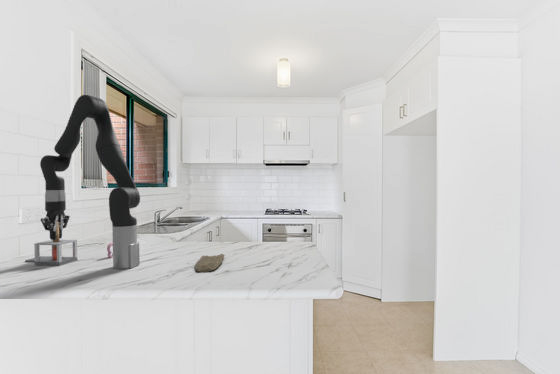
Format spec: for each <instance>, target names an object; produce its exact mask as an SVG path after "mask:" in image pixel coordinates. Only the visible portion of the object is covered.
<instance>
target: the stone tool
mask: <svg viewBox="0 0 560 374" xmlns="http://www.w3.org/2000/svg"><path fill="white" fill-rule="evenodd" d="M224 258H225V254H223V253H220V254H218V255H211V256H209V255H201V257H200V258H199V259H198V260H197V261H196V262H195V265H194V269H195V271H197V272H199V273H208V272H212V271H214V270H216V269H218V268H219V267H220V265H221V264H222V263H223V261H224Z"/></svg>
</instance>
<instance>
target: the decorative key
mask: <svg viewBox="0 0 560 374" xmlns="http://www.w3.org/2000/svg"><path fill="white" fill-rule="evenodd" d="M111 247H113V242H110V243H108V245H107V248H106V251H107V257H108V258H109V259H111V258H112V259H113V251H111Z"/></svg>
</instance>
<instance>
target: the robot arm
mask: <svg viewBox="0 0 560 374" xmlns="http://www.w3.org/2000/svg"><path fill="white" fill-rule="evenodd" d="M110 113H111V112H110V110H109V107H108V104H107V102H106V101H105V100H103V99H102V98H99V97H96V96H95V97H94V96H92V95H89V94H83V95H80V96H79V97H78V98H77V100H76V101H75V103H74V106H73V108H72V111H71V113H70V116H69V118H68V122H67V123H66V127H65V129H64V130H63V132H62V134H61V136H60V137H59V138H58V140H57V142H56V143H55V145H54V147H53V148H54V152H55V153H56V154H57V155H49V154H46V155H44V156H43V157H42V158H41V159H40V163H39V165H40V170H41V171H42V173H41V174H42V175H43V176H42V177H43V178H44V182H45V193H44V210H45V212H46V214H45V217H44V218H43V217H42V218H40V222H41V224H42V226H43V228H44V231H49V239H50V240H55V239H56V226H57V221H59V240H61V239H62V237H63V230H64V229H66V228H67V226H68V222H69V220H70V215H66V214H65V211H66V208H67V207H66V204H67V202H66V192H65V191H66V190H65V189H66V188H65V187H66V185H65V183H66V182H65V179H64V177H61V176H59V175H58V174H57V173H56V172H58V173H61V172H65V171H66V170H68V168H69V167H70V164H71V160H72V155H73V153H74V152H75V151H76V149H77V147H78V146H79V144H80V142H81V126H82V125H83V123H84V121H85V120H86V118H88V119H93V120H94V123H95V125H96V128H97V136H96V137H97V138H96V141H95V150H96V154H97V156H98V159H99V161H100V164H101V165H102V166H103V167H104V169H105V170H106V171H107V172H108V173H109V174H110V175H111V176H112V178H113V179H114V181H115V182H116V183H115V184H116V185H117V187H114V188H113V189H112V190H111V191H110V193H109V196H108V207H109V208H108V209H109V218H110V221H111V222H112V223H111V225H112V243H113V246H112V254H113V257H112V268H113V269H115V270H120V269H121V270H125V269H132V268H135V267H137V266H139V265H140V264H141V263H140V243H139V241H138V231H137V230H138V225H137V224H138V222H137V218H136V217H134V216H133V215H132V214H131V209H135V208H137V207H138V206H139V204H140V202H141V195H140V193H139V189H138V187H137V185H136V184H135V181H134V180H133V177H132V175H131V173H130V171H129V167H128V166H127V163H126V160H125V156H124V154H123V151H122V148H121V146H120V143H119V140H118V138H117V134H116V132H115V129H114V126H113V125H114V124H113V122H112V118H111V114H110ZM52 223H54V224H52ZM52 226H53V228H52Z"/></svg>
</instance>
